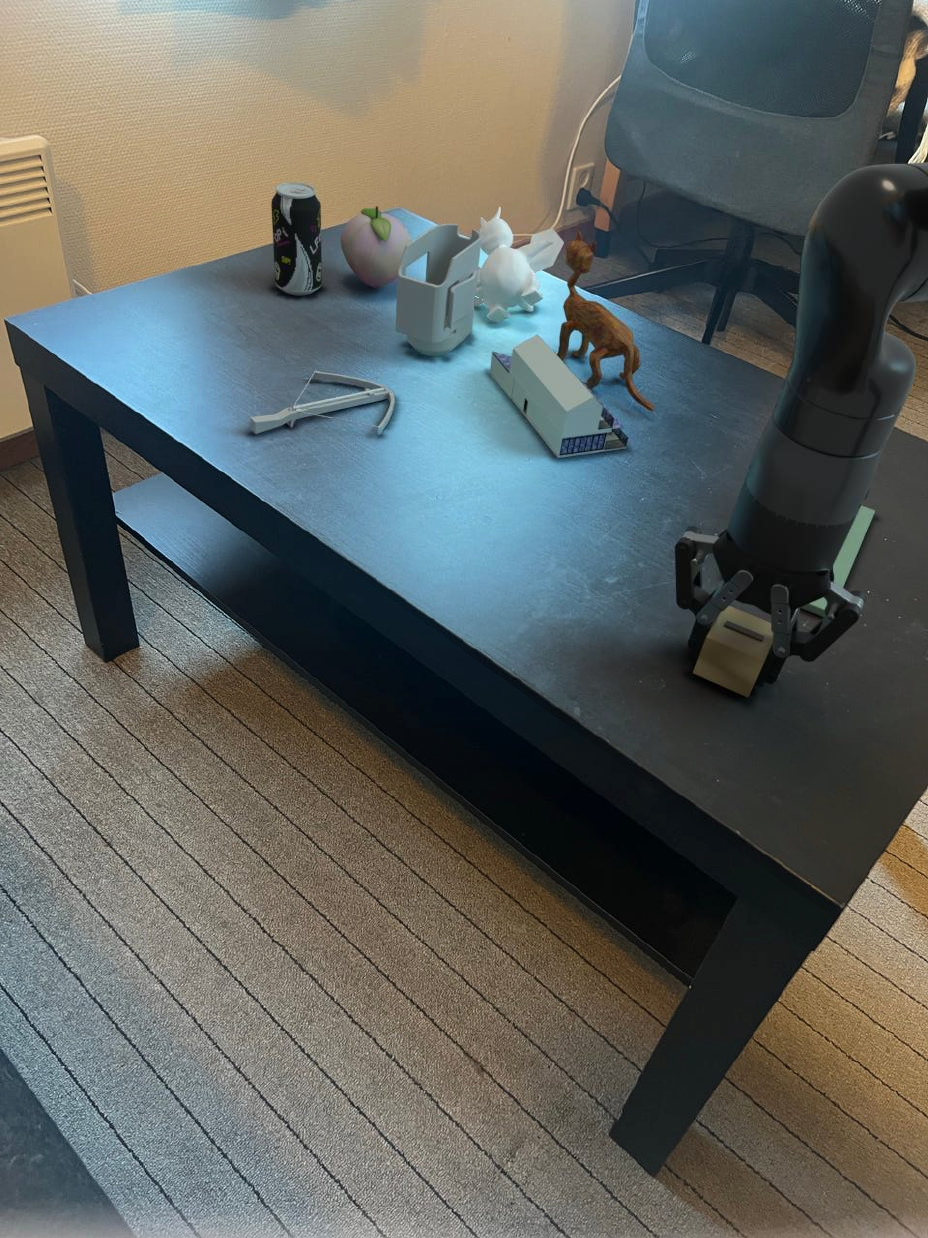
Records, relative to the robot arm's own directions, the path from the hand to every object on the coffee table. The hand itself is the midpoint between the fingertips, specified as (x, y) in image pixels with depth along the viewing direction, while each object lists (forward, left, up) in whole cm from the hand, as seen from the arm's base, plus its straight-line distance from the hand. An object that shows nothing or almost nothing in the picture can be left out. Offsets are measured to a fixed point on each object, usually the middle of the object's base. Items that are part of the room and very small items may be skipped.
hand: (730, 665), depth 73 cm
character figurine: (+45, -45, -1) cm, 64 cm away
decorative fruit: (+60, -40, -1) cm, 72 cm away
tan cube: (0, 0, 0) cm, 0 cm away
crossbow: (+47, -11, -1) cm, 48 cm away
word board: (-1, -20, -1) cm, 20 cm away
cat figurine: (+27, -36, -1) cm, 45 cm away
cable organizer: (+46, -31, -1) cm, 56 cm away
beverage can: (+67, -33, -1) cm, 75 cm away
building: (+29, -26, -1) cm, 39 cm away
